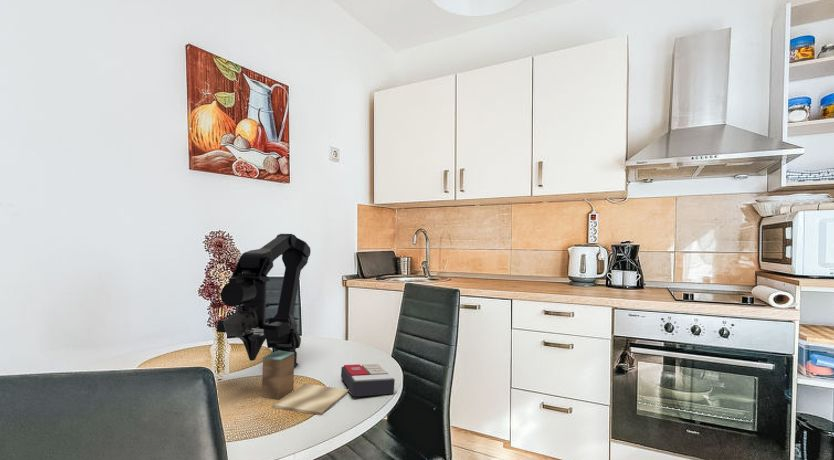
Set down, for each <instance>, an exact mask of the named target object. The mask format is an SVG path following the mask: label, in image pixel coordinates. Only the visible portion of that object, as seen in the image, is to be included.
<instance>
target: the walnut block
mask: <svg viewBox="0 0 834 460" xmlns="http://www.w3.org/2000/svg"><path fill="white" fill-rule="evenodd" d="M261 375H262V377H261V378H262V379H261V380H262V381H261V398H262V399H269V400H275V401H279V400H280V399H282V398H283V397H285V396H287V395H288V394H289V393H291V392H292V391H294V382H295V380H294V379H295V376H294V375H295V367H294V352H286V351H276V352H273V353H272V352H271V353H269V354H266V355H264V356H263V357H262V374H261Z"/></svg>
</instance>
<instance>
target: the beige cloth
mask: <svg viewBox="0 0 834 460" xmlns="http://www.w3.org/2000/svg"><path fill="white" fill-rule="evenodd" d="M347 394H350V392H349V389H345V388H339V387H332V386H324V385H319V384H318V385H316V384H310V383H304V384H303V385H301V386H299V387H297V388H296V389H295V390H293V392H291V393H290V394H288V395H286V396H285V397H283V398H282V399H280V400H276V402H274V403H271V408H275V409H280V410H281V409H282V410H286V411H293V412H298V413H305V414H311V415H317V416H323V414H325V413H326V412H327V411H329V410H330V409H331V408H332V407H333V406H334V405H336V404H337V403H339V402H340V401H341V400H342V399H343V398H344V397H346V396H347Z"/></svg>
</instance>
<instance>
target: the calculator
mask: <svg viewBox="0 0 834 460" xmlns="http://www.w3.org/2000/svg"><path fill="white" fill-rule="evenodd" d="M340 371H341V373H340V378H341V380H342V381H343V382H344V384H345V385H346V387H347V388H348V390H349V394H350V395H351V396H352V397H355V398H356V397H367V396H381V395H393V394H394V393H395V378H394V377H393V376H391V375H390V374H389V372H388V371H386V370H385V369H384V368H383V367H382V366H380V364H378V363H365V364H364V363H363V364H358V363H357V364H344V365H343V366H341V368H340Z"/></svg>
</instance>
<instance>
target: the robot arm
mask: <svg viewBox="0 0 834 460" xmlns="http://www.w3.org/2000/svg"><path fill="white" fill-rule="evenodd" d="M310 256H311V247H310V245H309V244H308V243H307V241H305V240H303V239H301V238H298V237H297V235H295V234H293V233H278V234H277V235H276V237H275V238H273V239H272V240H270V241H269V242H268V243H266V244H265V245H264V246H262V247H260V248H259V249H257V248H256V249H252V250H247V251H245V252H243V253H242V254H241V255H240V257H239V259H238V261H237V262H236V265H235V267H234V270H233V272H232V275H231V276H230V277H229V278H228V283H226V284H225V285H224V286H223V287H222V289H221V291H220V299H221V301H222V303H223V304H224V305H225V306H227V307H229V308H233V307H237V311H236V313H234V314H232V315H230V316H229V317H228V318H225V319H224V318H223V319H221V320H219V321H218V322H217V324H216V332H217V333H225V334H226V335H228V336H229V335H233V336H234V337H236V338H238V339H240V340H241V341H242V343H243V344H244V347H245V351H246V353H247V357H248V359H249V361H251V362H253V361H255V360H256V358H257V357H258V354H259V353H260V351H261V348H262V346H263V344H264V343H265V341H266V346H267V349H271V353H273V352H276V351H286V352H294V368H295V367H297V366H298V365H299V363H298V362H297V360H298V359H297V358H298V357H297V356H298V351H296V350H297V349H300V348H301V344H302V338H301V336H300V334H299V332H298V331H297V328H298V327H297V326H298V324H297V321H296V319H295V317H294V314H295V313H294V312H295V307H296V300H297V294H298V289H299V283H300V277H301V271H302V270H303V269H304V268H305V266H307V264H308V261H309V258H310ZM279 257H281V260H282V262H283V265H284V267H285V268H284V273H283V279H282V285H281V289H280V295H279V300H278V306H277V311H276V314H275V315H274V316H273V317H270V318H267V317H266V315H267V312H266V310H267V308H269V307H270V303H269V302H267V282H270V281H271V279H270V277H269V276H268V274H269V273H270V271H272V269H273V267H274V261H275V260H277V259H278V258H279Z"/></svg>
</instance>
